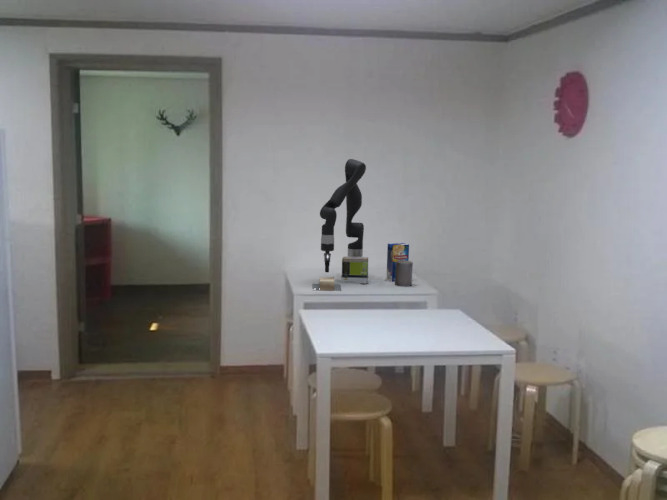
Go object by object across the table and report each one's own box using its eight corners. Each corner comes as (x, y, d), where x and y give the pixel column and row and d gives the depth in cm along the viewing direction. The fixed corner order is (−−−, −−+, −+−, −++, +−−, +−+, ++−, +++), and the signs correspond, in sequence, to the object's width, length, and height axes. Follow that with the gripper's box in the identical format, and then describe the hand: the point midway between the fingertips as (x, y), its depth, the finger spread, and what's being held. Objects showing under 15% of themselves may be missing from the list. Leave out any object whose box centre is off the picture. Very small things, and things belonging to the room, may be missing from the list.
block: (319, 277, 408) (319, 281, 395) (333, 277, 408) (334, 281, 395) (319, 285, 409) (319, 290, 396) (333, 286, 409) (334, 290, 396)
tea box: (368, 281, 429) (368, 256, 427) (367, 284, 419) (367, 259, 417) (342, 280, 430) (343, 255, 428) (341, 283, 420) (341, 258, 418)
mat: (312, 284, 415) (312, 283, 415) (340, 284, 415) (340, 284, 415) (312, 290, 395) (312, 290, 395) (341, 291, 396) (341, 290, 396)
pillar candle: (392, 283, 423) (393, 258, 420) (407, 282, 426) (408, 257, 424) (399, 286, 414) (400, 261, 411) (414, 286, 417) (415, 260, 415)
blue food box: (407, 280, 434) (409, 244, 431) (392, 281, 429) (393, 245, 426) (401, 278, 440) (403, 243, 437) (386, 279, 435) (387, 243, 432)
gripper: (320, 240, 420) (320, 270, 422) (321, 243, 406) (320, 274, 409) (333, 240, 420) (333, 270, 422) (334, 244, 407) (333, 274, 409)
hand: (326, 272), depth 416 cm, fingers closed
